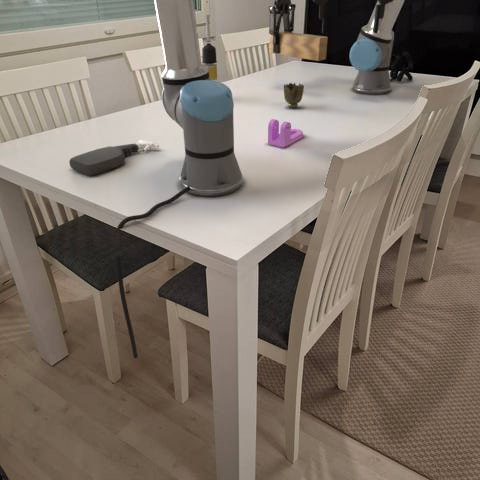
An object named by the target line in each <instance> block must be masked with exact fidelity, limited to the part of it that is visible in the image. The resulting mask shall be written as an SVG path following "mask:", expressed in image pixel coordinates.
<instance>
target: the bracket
mask: <svg viewBox="0 0 480 480" xmlns="http://www.w3.org/2000/svg"><path fill="white" fill-rule="evenodd" d="M303 136H304V131H303V130H301V129H298V128H292V125H291V122H290V121H283V122H282V123H281V124H280V121H279V120H278V119H273V118H272V119H270V120H269V122H268V125H267V144H268V145H271V146H274V147H279V148H286V147H288V146H290V145H292V144H293V143H296V142H297V141H299V140H301V139H302V138H303Z"/></svg>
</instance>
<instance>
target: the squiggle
mask: <svg viewBox="0 0 480 480" xmlns="http://www.w3.org/2000/svg"><path fill="white" fill-rule="evenodd" d="M401 57H402V59H401ZM391 59H392V60H391ZM391 59H390V65H389V67H390V68H391V70H390V71H389V77H390V79H392V78H394V79H395V78H396V77H397V78H396V79H395V80H396V81H397V82H399V83H400V82H402V81H403V79H404V76H406V78H407V80H408V81H412V80H413V79H414V77H413V75H412V74H411V73H410V72H409V71H410V70H411V69H412V70H413V68H414V64H413V61H412V57H411V54H410V53H409V52H408V51H403V53H402V54H401V55H396V54H394V53H392V52H391ZM393 60H394V61H393ZM406 62H407V65H408V66H407V67H405V66H404V65H405V64H406ZM407 68H408V70H407ZM400 70H401V71H400ZM412 70H411V71H412ZM397 75H398V76H397Z"/></svg>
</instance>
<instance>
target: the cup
mask: <svg viewBox="0 0 480 480" xmlns="http://www.w3.org/2000/svg"><path fill="white" fill-rule="evenodd" d="M304 89H305V85H304V84H301V83H298V85H297V84H296V83H295V82H293V83H292V82H290V83H286V84H283V97H284V101H285V102H286V103H287V107H288V108H289V109H297V108H298V106H299V103H300V102H301V101H302V99H303V96H304Z"/></svg>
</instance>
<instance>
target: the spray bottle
mask: <svg viewBox="0 0 480 480" xmlns="http://www.w3.org/2000/svg"><path fill="white" fill-rule="evenodd" d="M159 148H160V145H159V144H158V143H155V142H151V141H148V140H144V139H139V140H138V141H137V142H135V143H129V144H128V143H126V144H122V145H113V146H105V147H100V148H97V149H94V150H90V151H87V152H83V153H81V154H78V155H74V156H73V157H70V159H69V161H68V162H69V167H70V168H71V169H72V170H74V171H75V172H78V173H81V174H83V175H85V176H89V177H90V176H91V177H92V176H95V175H99V174H102V173H105V172H107V171H110V170H113V169H116V168H118V167H120V166H122V165H123V164H124V163H125V158H126V156H127V155H131V154H133V153H138V151H140V150H143V151H144V152H146V151H147V150H149V149H159Z"/></svg>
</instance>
